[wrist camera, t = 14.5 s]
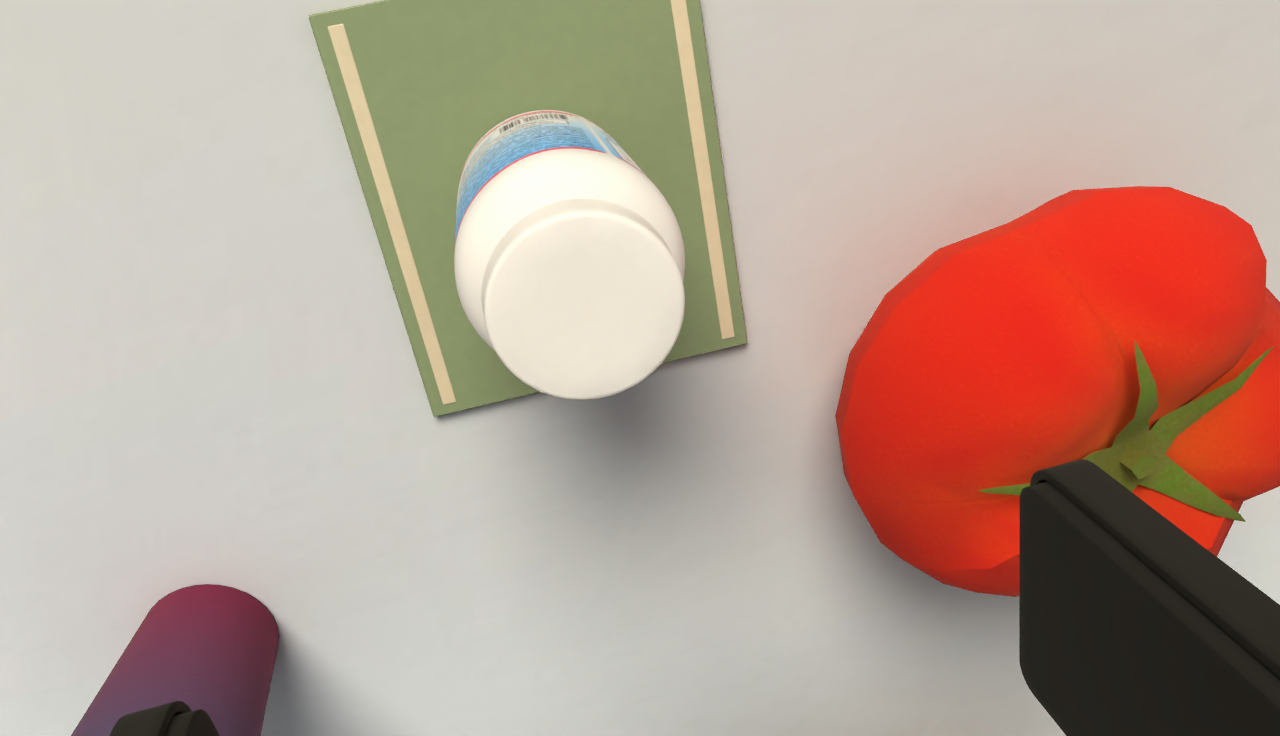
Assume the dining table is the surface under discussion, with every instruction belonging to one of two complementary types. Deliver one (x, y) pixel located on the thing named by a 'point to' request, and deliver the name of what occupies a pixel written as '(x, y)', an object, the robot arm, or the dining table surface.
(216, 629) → the cup
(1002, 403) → the tomato
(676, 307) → the pill bottle
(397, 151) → the napkin
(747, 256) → the dining table surface
